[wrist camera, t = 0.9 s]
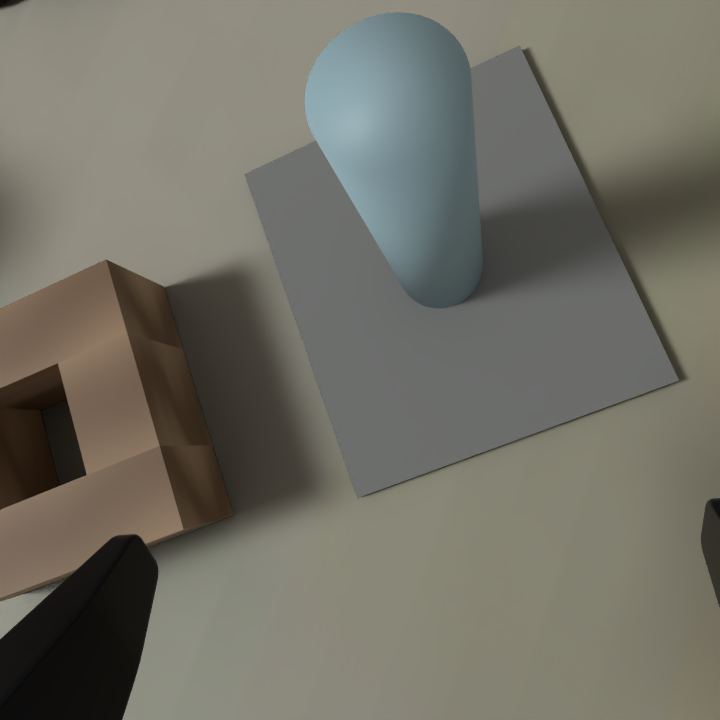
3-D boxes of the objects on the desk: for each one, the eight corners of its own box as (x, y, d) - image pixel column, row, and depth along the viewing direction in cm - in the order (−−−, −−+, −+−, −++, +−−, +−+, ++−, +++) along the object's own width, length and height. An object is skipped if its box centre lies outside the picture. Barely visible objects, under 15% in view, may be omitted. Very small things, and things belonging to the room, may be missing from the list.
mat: (676, 381, 21) (679, 380, 21) (359, 497, 23) (357, 497, 23) (519, 50, 24) (519, 45, 24) (247, 177, 26) (244, 174, 25)
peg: (496, 288, 23) (498, 126, 11) (416, 321, 23) (336, 198, 11) (464, 213, 23) (434, -16, 12) (386, 246, 24) (283, 59, 12)
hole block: (233, 515, 24) (183, 529, 20) (21, 594, 25) (-63, 621, 22) (164, 286, 26) (106, 259, 22) (-29, 372, 27) (-115, 361, 24)
